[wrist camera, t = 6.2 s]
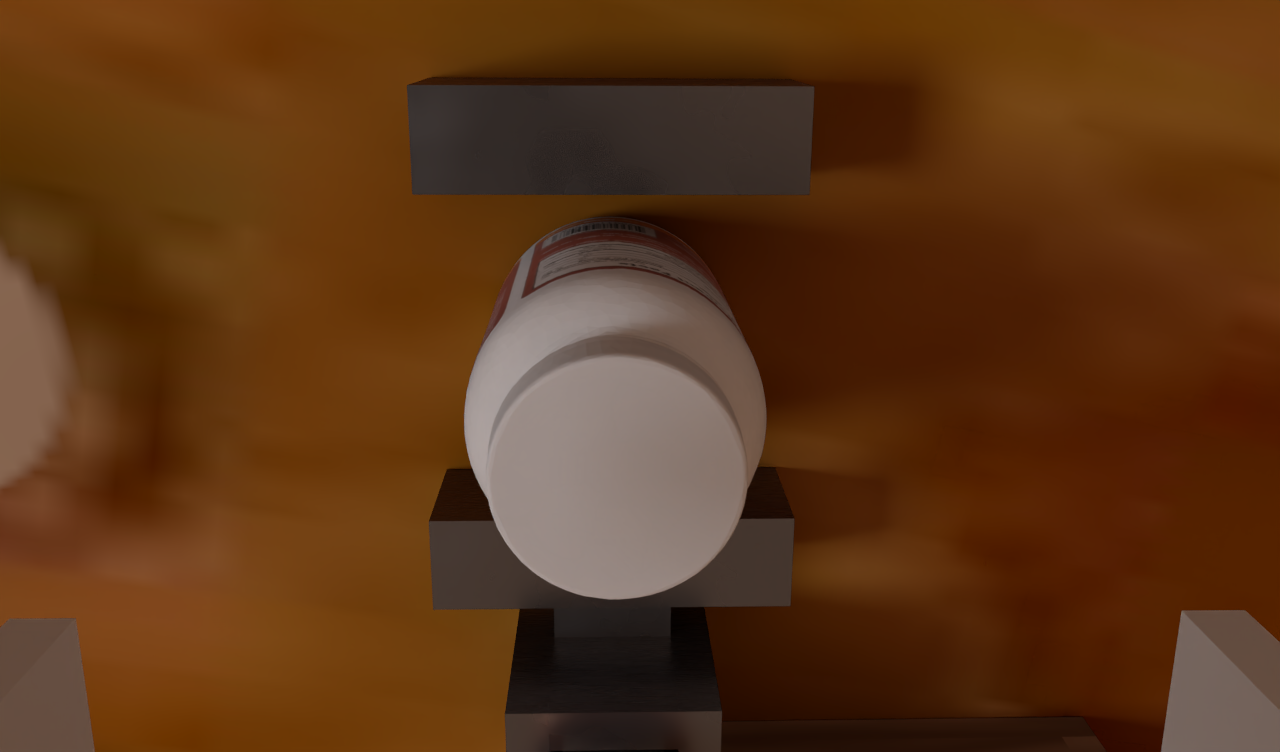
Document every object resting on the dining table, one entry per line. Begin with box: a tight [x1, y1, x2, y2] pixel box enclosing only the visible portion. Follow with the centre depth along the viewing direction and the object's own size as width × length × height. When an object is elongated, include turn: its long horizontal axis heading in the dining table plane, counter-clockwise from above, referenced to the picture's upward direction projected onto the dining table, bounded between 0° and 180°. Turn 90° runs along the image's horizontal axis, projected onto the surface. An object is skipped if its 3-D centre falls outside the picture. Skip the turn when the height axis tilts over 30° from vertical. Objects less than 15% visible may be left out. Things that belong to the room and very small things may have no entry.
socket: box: [407, 78, 814, 752], centre depth 29 cm, size 19×9×6 cm, turn 0°
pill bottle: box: [464, 217, 766, 600], centre depth 26 cm, size 6×6×11 cm
